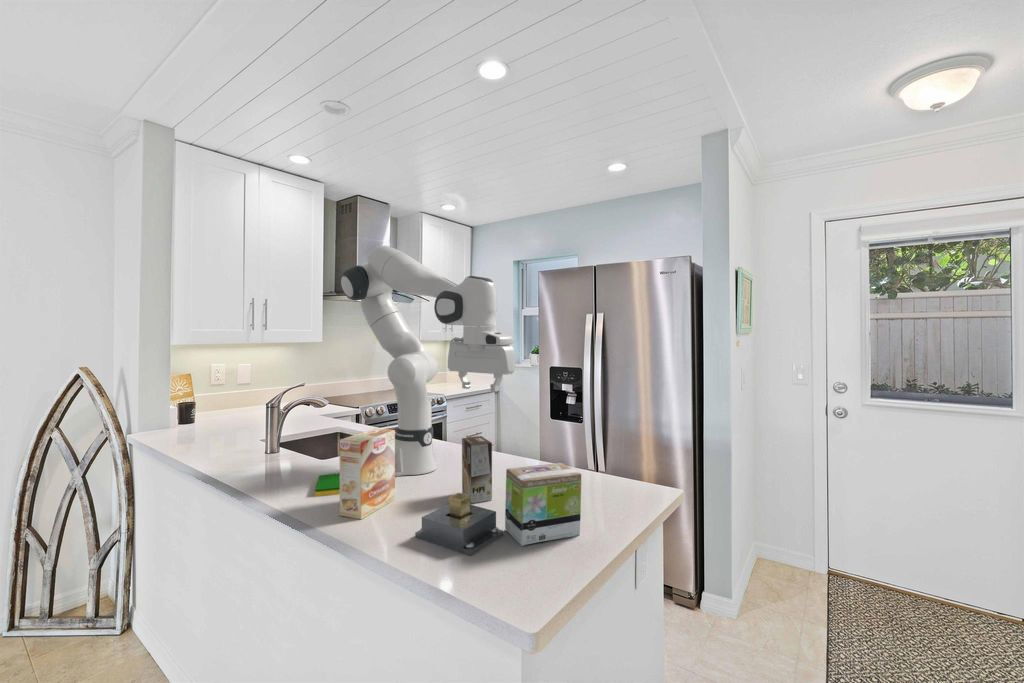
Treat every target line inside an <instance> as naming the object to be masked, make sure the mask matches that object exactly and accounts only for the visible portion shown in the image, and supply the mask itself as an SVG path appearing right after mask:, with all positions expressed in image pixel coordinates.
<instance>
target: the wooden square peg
mask: <svg viewBox="0 0 1024 683" xmlns="http://www.w3.org/2000/svg"><path fill="white" fill-rule="evenodd" d="M471 499H472V496H470V495H466V494H463V493H461V492H457V493H455V494H453V495H450V496H449V497H447V501H448V502H449V504H450V517H452V518H456V519H459V520H462V519H464V518H465V517H467V516H469V515H470V505H471V502H470V500H471Z"/></svg>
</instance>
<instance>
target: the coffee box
mask: <svg viewBox="0 0 1024 683" xmlns="http://www.w3.org/2000/svg"><path fill="white" fill-rule="evenodd" d="M461 475H462V476H461V479H462V480H461V485H462V486H461V488H462V489H461V490H462V491H461V492H462V494H466V495H470V496H472V499H471V500H470V504H476V503H482V502H491V501H492V500H493V442H491V441H490V440H488V439H486V438H485V437H483V436H482V435H480V436H479V435H478V436H470V437H469V436H468V437H463V438H461Z"/></svg>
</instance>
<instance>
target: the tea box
mask: <svg viewBox="0 0 1024 683" xmlns="http://www.w3.org/2000/svg"><path fill="white" fill-rule="evenodd" d="M505 472H506V474H505V475H506V478H505V503H504V504H505V505H504V506H505V510H504V513H505V515H504V529H505V530H506V531H507V533H508V534H509V535H510V536H511V537H513V539H514V540H515V541H516V542H517V543H518V544H519V545H520V546H521V547H524V546H528V545H531V544H536V543H541V542H542V543H543V542H547V541H553V540H559V539H566V538H567V539H568V538H572V537H578V536H580V534H581V533H580V532H581V516H582V514H581V511H582V504H581V503H582V473H580V472H578V471H577V470H575V469H574V468H571V467H569V466H568V465H566V464H564V463H563V462H555V463H547V464H539V465H538V464H537V465H529V466H521V467H520V466H519V467H511V468H506V471H505Z"/></svg>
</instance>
